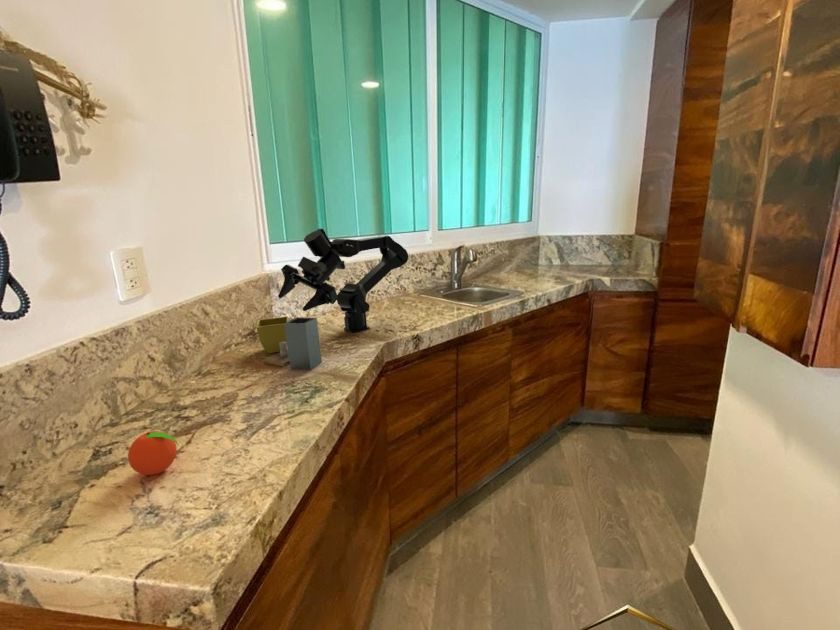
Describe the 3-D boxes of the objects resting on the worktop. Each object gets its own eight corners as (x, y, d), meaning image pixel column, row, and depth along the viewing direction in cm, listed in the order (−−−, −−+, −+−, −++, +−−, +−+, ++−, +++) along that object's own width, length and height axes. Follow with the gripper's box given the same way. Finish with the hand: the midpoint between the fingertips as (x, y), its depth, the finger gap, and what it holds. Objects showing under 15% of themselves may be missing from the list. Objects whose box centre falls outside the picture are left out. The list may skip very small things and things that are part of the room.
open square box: (302, 361, 123) (296, 317, 120) (321, 362, 121) (316, 317, 118) (290, 369, 117) (284, 323, 114) (310, 370, 116) (305, 324, 112)
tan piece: (286, 353, 130) (284, 336, 129) (305, 357, 126) (303, 340, 125) (264, 362, 124) (261, 345, 122) (284, 366, 119) (281, 348, 118)
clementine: (194, 457, 78) (186, 420, 76) (174, 482, 71) (165, 442, 69) (147, 460, 78) (139, 423, 76) (123, 485, 71) (113, 445, 69)
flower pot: (260, 356, 128) (255, 326, 126) (262, 347, 136) (258, 319, 134) (291, 352, 130) (288, 323, 128) (292, 344, 139) (288, 316, 136)
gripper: (293, 238, 133) (258, 273, 126) (344, 261, 128) (309, 299, 120) (303, 263, 142) (270, 297, 135) (350, 286, 137) (318, 322, 129)
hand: (291, 303), depth 130 cm, fingers open, 9 cm apart
